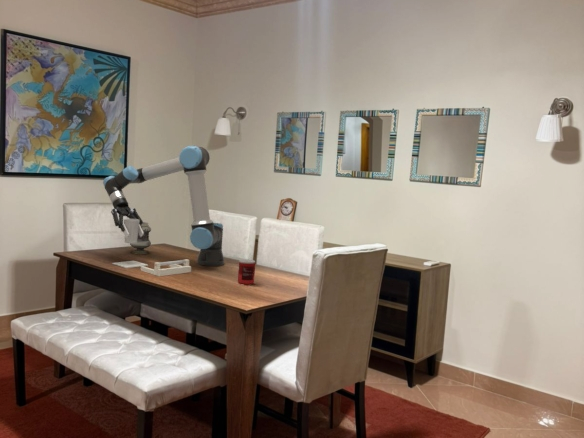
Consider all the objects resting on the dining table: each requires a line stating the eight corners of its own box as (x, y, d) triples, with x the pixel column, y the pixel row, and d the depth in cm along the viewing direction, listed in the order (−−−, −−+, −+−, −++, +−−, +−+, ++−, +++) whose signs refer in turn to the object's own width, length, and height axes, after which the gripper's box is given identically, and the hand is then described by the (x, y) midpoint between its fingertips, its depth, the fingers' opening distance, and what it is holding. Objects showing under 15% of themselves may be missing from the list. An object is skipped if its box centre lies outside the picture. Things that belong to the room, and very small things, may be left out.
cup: (134, 244, 276) (135, 220, 275) (120, 242, 278) (120, 219, 277) (141, 242, 284) (142, 219, 283) (127, 240, 286) (128, 218, 284)
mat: (134, 261, 291) (134, 260, 291) (148, 265, 283) (148, 264, 283) (112, 263, 281) (112, 262, 281) (126, 268, 273) (126, 267, 273)
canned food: (245, 280, 262) (246, 258, 261) (257, 283, 257) (258, 261, 256) (234, 282, 256) (235, 260, 255) (246, 286, 251) (247, 262, 250)
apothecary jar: (129, 250, 323) (130, 221, 321) (149, 251, 327) (151, 221, 325) (129, 254, 312) (130, 223, 310) (151, 254, 315) (152, 224, 313)
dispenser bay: (140, 270, 269) (140, 258, 269) (172, 266, 284) (172, 255, 284) (158, 276, 259) (159, 264, 259) (191, 272, 274) (191, 260, 273)
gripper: (133, 205, 297) (148, 238, 288) (98, 206, 281) (113, 241, 272) (139, 197, 293) (155, 230, 284) (104, 196, 277) (119, 232, 269)
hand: (134, 235), depth 278 cm, fingers closed on cup, 8 cm apart
